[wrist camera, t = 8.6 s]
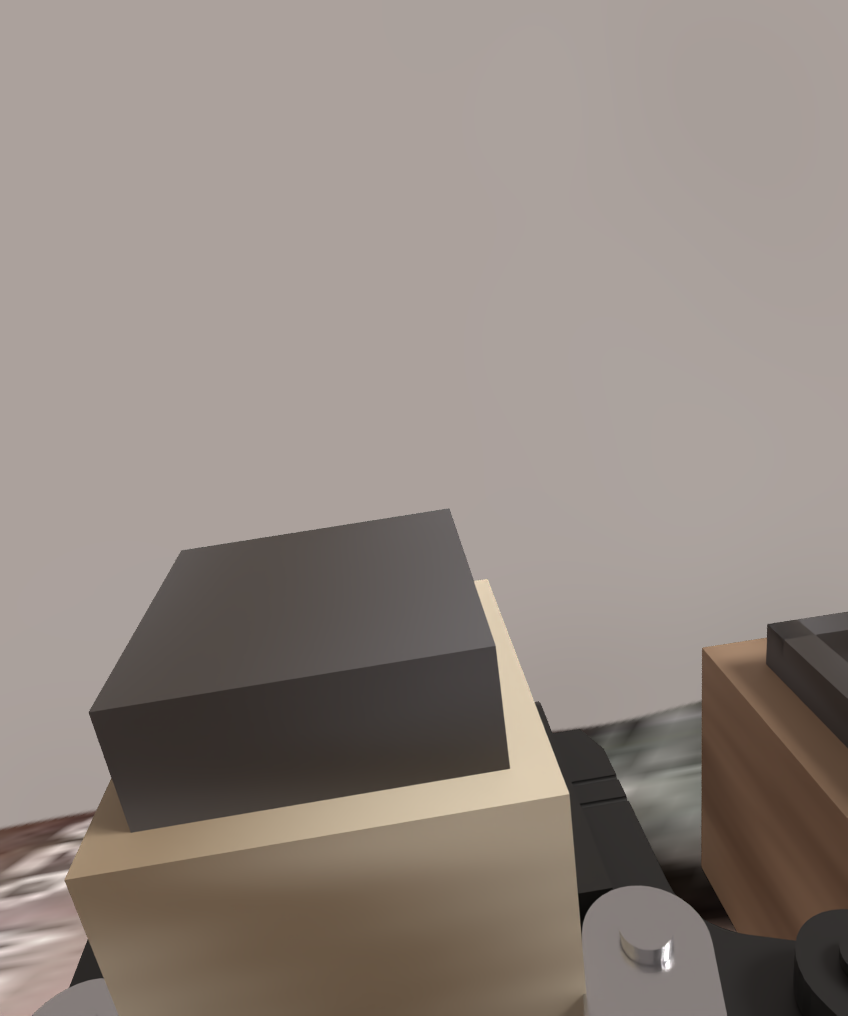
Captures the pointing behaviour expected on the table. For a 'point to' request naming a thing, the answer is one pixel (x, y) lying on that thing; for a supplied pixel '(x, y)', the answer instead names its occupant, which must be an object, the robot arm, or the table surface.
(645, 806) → the table surface
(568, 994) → the beech plug
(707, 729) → the walnut dock
